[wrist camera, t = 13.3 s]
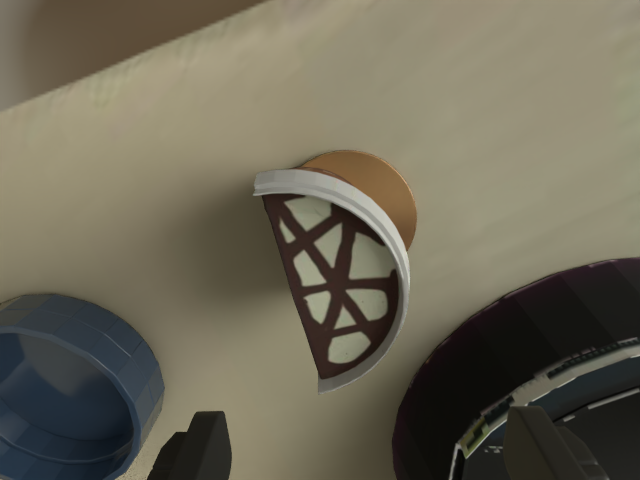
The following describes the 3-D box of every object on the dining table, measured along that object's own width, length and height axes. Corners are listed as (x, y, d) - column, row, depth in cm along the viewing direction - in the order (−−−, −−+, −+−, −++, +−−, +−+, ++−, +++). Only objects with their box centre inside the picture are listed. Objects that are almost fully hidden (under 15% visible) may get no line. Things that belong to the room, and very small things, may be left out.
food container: (404, 288, 30) (436, 381, 21) (324, 305, 31) (320, 402, 21) (370, 123, 26) (391, 146, 16) (278, 147, 26) (248, 182, 17)
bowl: (-52, 293, 32) (-117, 329, 27) (144, 287, 31) (111, 323, 27) (15, 443, 38) (-29, 493, 33) (181, 440, 37) (160, 492, 32)
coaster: (269, 153, 27) (268, 155, 26) (418, 146, 27) (419, 147, 26) (282, 284, 31) (281, 287, 30) (413, 279, 30) (414, 283, 30)
